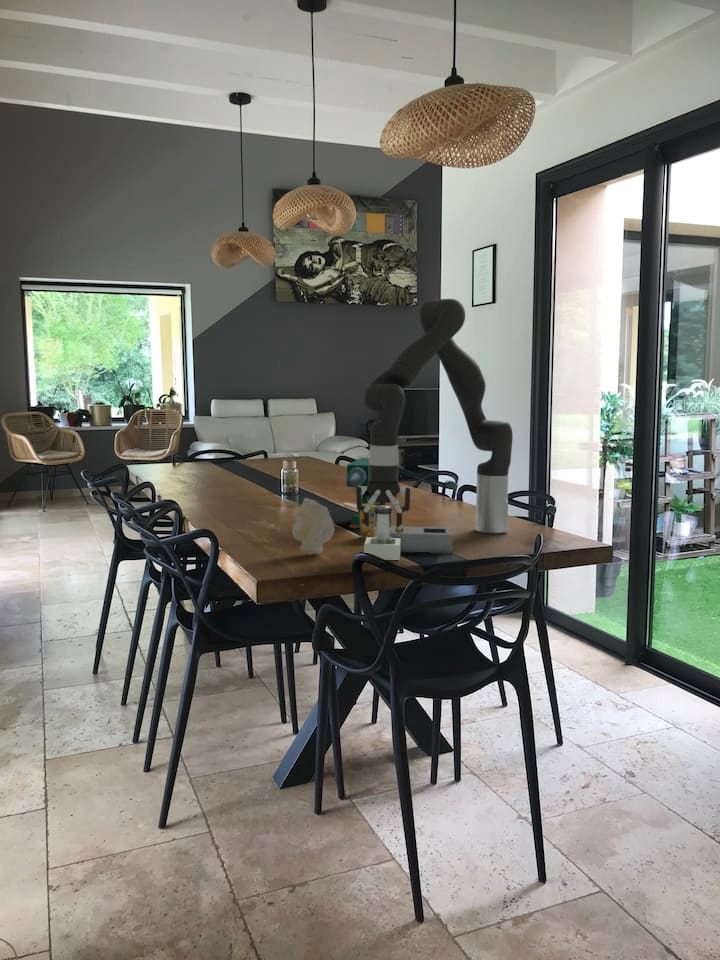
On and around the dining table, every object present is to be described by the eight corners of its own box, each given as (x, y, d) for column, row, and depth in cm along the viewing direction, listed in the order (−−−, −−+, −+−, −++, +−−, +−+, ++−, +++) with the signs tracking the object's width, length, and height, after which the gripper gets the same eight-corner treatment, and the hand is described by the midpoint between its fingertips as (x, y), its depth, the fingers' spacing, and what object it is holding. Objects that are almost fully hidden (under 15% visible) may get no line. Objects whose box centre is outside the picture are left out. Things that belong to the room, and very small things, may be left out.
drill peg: (391, 554, 205) (392, 505, 203) (391, 558, 200) (392, 508, 198) (374, 554, 205) (374, 505, 203) (373, 558, 200) (373, 508, 199)
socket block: (450, 545, 216) (450, 527, 216) (451, 553, 207) (452, 534, 206) (385, 543, 218) (385, 526, 217) (383, 551, 208) (383, 533, 207)
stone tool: (334, 552, 207) (334, 496, 205) (335, 555, 203) (335, 498, 201) (292, 553, 205) (292, 496, 203) (292, 556, 202) (292, 498, 200)
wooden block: (401, 543, 214) (401, 521, 214) (401, 546, 210) (401, 524, 210) (397, 543, 214) (397, 521, 214) (396, 546, 211) (397, 524, 210)
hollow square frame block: (400, 552, 207) (400, 538, 206) (399, 561, 198) (399, 545, 197) (366, 552, 207) (366, 537, 207) (363, 560, 198) (364, 544, 198)
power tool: (363, 539, 224) (363, 469, 221) (339, 537, 225) (339, 468, 223) (382, 519, 255) (383, 458, 252) (361, 518, 256) (361, 457, 254)
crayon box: (358, 538, 225) (359, 497, 224) (365, 536, 228) (365, 496, 226) (378, 541, 221) (379, 500, 219) (385, 540, 223) (386, 499, 221)
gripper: (354, 464, 196) (353, 528, 198) (411, 465, 195) (410, 530, 197) (356, 460, 203) (356, 523, 206) (412, 461, 202) (411, 524, 205)
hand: (382, 526), depth 201 cm, fingers open, 7 cm apart
